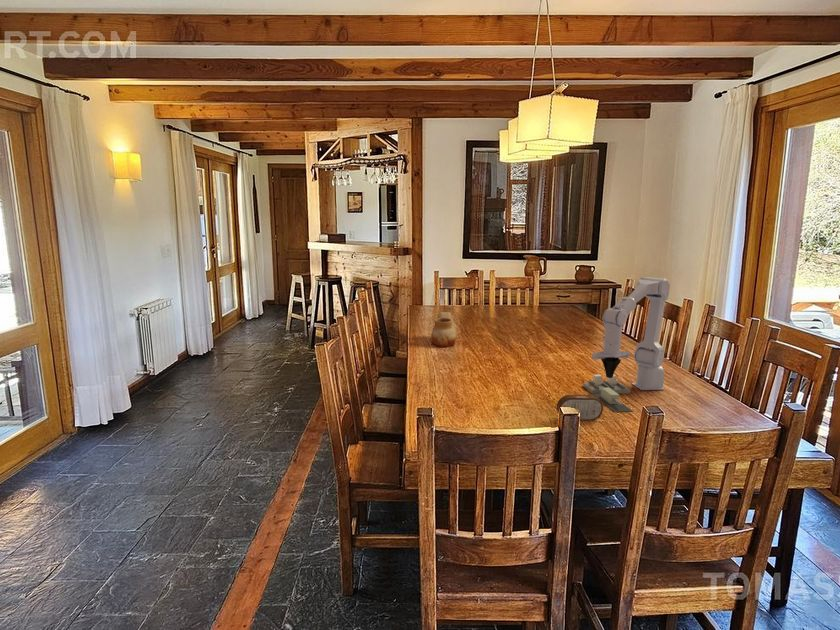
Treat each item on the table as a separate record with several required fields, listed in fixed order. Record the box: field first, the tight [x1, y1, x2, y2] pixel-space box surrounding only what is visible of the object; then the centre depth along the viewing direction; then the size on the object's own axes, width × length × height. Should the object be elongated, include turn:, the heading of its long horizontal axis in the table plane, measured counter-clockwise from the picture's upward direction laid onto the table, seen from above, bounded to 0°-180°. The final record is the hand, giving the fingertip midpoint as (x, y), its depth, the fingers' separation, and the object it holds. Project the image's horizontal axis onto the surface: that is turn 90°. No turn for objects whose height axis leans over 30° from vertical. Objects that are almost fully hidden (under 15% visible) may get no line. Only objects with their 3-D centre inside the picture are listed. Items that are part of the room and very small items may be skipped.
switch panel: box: [582, 379, 631, 395], centre depth 202 cm, size 15×9×2 cm, turn 95°
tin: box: [556, 394, 604, 422], centre depth 171 cm, size 15×3×8 cm, turn 92°
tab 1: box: [591, 374, 603, 385], centre depth 203 cm, size 3×2×4 cm
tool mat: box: [592, 394, 634, 413], centre depth 188 cm, size 7×18×1 cm, turn 5°
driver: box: [601, 388, 623, 406], centre depth 187 cm, size 3×13×4 cm, turn 5°
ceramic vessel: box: [430, 311, 459, 349], centre depth 274 cm, size 14×26×15 cm, turn 175°
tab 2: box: [606, 373, 618, 385], centre depth 204 cm, size 3×2×4 cm
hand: (609, 377), depth 191 cm, fingers closed
